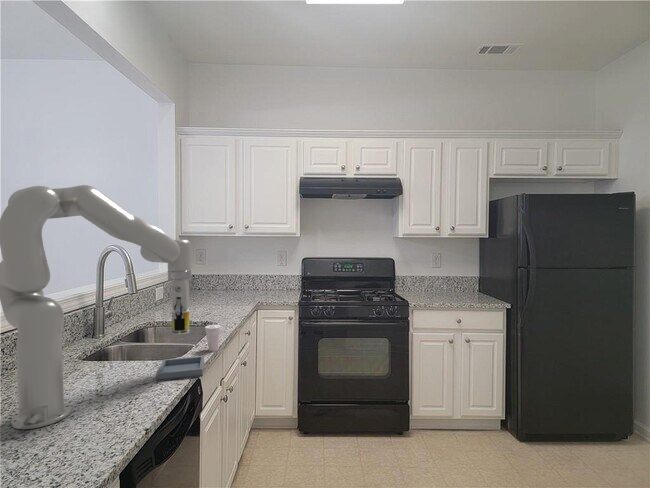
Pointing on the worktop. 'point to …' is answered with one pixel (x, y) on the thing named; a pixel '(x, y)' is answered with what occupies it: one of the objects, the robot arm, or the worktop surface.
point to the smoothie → (213, 336)
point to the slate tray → (181, 368)
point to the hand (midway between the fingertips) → (180, 327)
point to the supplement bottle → (186, 316)
